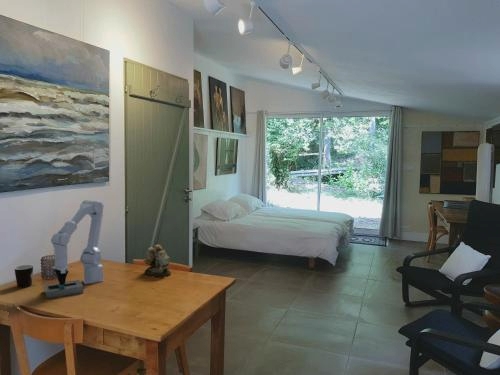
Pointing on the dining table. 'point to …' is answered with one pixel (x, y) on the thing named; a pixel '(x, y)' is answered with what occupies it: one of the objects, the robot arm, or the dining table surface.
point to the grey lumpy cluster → (157, 262)
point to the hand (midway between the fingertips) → (61, 284)
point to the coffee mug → (24, 275)
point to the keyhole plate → (63, 289)
